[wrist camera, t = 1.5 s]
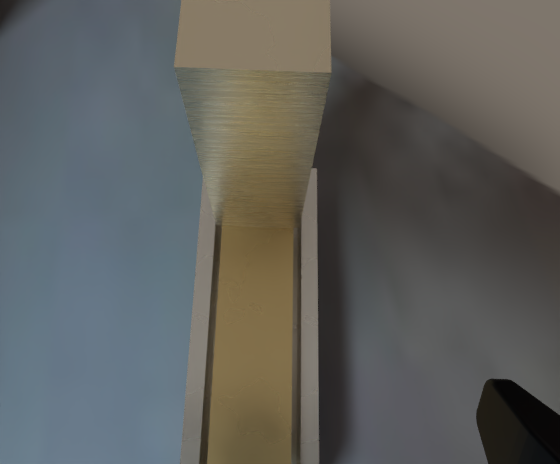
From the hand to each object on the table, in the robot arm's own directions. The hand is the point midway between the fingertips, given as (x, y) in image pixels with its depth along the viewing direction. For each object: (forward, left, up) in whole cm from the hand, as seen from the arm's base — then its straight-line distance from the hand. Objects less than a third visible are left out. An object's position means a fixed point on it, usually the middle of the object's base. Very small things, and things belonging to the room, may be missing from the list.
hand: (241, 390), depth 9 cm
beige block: (+2, +2, -13) cm, 13 cm away
